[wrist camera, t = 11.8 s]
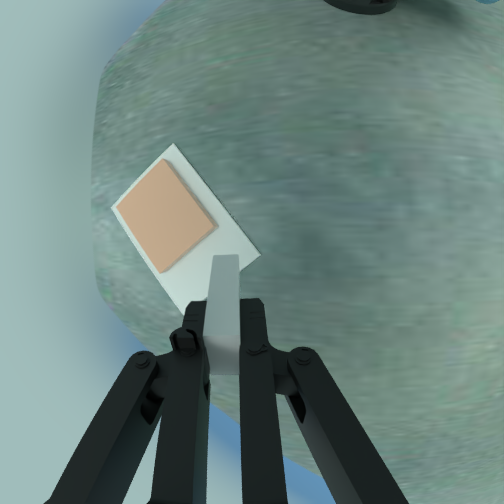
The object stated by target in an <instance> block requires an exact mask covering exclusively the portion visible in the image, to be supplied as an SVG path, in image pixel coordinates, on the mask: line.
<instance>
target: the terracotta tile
mask: <svg viewBox="0 0 504 504" xmlns="http://www.w3.org/2000/svg"><path fill="white" fill-rule="evenodd" d="M116 208H117V209H118V211H119V213H120V214H121V216H122V218H123V219H124V221H125V222H126V224H127V225H128V227H129V229H130V230H131V232H132V233H133V235H134V236H135V238H136V239H137V241H138V242H139V244H140V246H141V247H142V249H143V250H144V252H145V253H146V254H147V256H148V257H149V259H150V260H151V262H152V263H153V265H154V266H155V268H156V269H157V271H158V272H159V273H160V274H161V273H164V272H167V271H168V270H169V269H170V268H171V267H172V266H173V265H174V264H176V263H177V262H178V261H179V260H180V259H181V258H182V257H184V256H185V255H186V254H187V253H188V252H189V251H190V250H192V249H193V248H194V247H195V246H196V245H197V244H198V243H200V242H201V241H202V240H203V239H204V238H205V237H207V236H208V235H209V234H210V233H211V232H212V231H214V230H215V229H216V228H217V227H218V225H217V224H216V223H215V222H214V220H213V219H212V218H211V216H210V215H209V214H208V212H207V211H206V210H205V208H204V207H203V206H202V204H201V203H200V202H199V200H198V199H197V198H196V197H195V195H194V194H193V193H192V191H191V190H190V189H189V187H188V186H187V185H186V183H185V182H184V181H183V179H182V178H181V177H180V175H179V174H178V173H177V171H176V170H175V169H174V167H173V166H172V165H171V163H170V162H169V161H168V160H166V159H163V158H162V159H161V160H160V161H159V162H158V163H157V164H156V165H155V166H154V167H153V168H152V169H151V170H150V171H149V172H148V173H147V174H146V175H145V176H144V177H143V178H142V179H141V180H140V181H139V182H138V183H137V184H136V186H135V187H134V188H133V189H132V190H131V191H130V192H129V193H128V194H127V195H126V196H125V197H124V198H123V200H122V201H121V202H120V203H119V204H118V205H117V206H116Z"/></svg>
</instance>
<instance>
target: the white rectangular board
mask: <svg viewBox="0 0 504 504" xmlns="http://www.w3.org/2000/svg"><path fill="white" fill-rule="evenodd" d="M162 158H163V159H166V160H168V161H169V162H170V163H171V165H172V166H173V167H174V169H175V170H176V171H177V173H178V174H179V175H180V177H181V178H182V179H183V181H184V182H185V183H186V185H187V186H188V187H189V189H190V190H191V191H192V193H193V194H194V195H195V197H196V198H197V199H198V200H199V202H200V203H201V204H202V206H203V207H204V208H205V210H206V211H207V212H208V214H209V215H210V216H211V218H212V219H213V220H214V222H215V223H216V224H217V225H218V227H217V228H216V229H215V230H214V231H212V232H211V233H210V234H209V235H208V236H207V237H205V238H204V239H203V240H202V241H201V242H200V243H198V244H197V245H196V246H195V247H194V248H193V249H192V250H190V251H189V252H188V253H187V254H186V255H185V256H184V257H182V258H181V259H180V260H179V261H178V262H177V263H176V264H174V265H173V266H172V267H171V268H170V269H169V270H168V271H167V272H164V273H161V274H160V273H159V272H158V271H157V269H156V268H155V266H154V265H153V263H152V262H151V260H150V259H149V257H148V256H147V254H146V253H145V252H144V250H143V249H142V247H141V246H140V244H139V242H138V241H137V239H136V238H135V236H134V235H133V233H132V232H131V230H130V229H129V227H128V225H127V224H126V222H125V221H124V219H123V218H122V216H121V214H120V213H119V211H118V209H117V208H116V206H117V205H118V204H119V203H120V202H121V201H122V200H123V198H124V197H125V196H126V195H127V194H128V193H129V192H130V191H131V190H132V189H133V188H134V187H135V186H136V184H137V183H138V182H139V181H140V180H141V179H142V178H143V177H144V176H145V175H146V174H147V173H148V172H149V171H150V170H151V169H152V168H153V167H154V166H155V165H156V164H157V163H158V162H159V161H160V160H161V159H162ZM111 209H112V210H113V212H114V213H115V215H116V217H117V218H118V220H119V222H120V223H121V225H122V226H123V228H124V230H125V231H126V233H127V234H128V236H129V238H130V239H131V241H132V242H133V244H134V245H135V247H136V248H137V250H138V251H139V253H140V254H141V256H142V257H143V259H144V260H145V262H146V263H147V265H148V266H149V268H150V269H151V271H152V272H153V274H154V275H155V276H156V278H157V279H158V281H159V282H160V284H161V285H162V286H163V288H164V289H165V291H166V292H167V293H168V295H169V296H170V298H171V299H172V300H173V302H174V303H175V304H176V306H177V307H178V308H179V310H180V311H181V312H182V314H183V315H184V314H185V309H186V307H187V305H188V304H189V303H190V302H191V301H203V300H204V299H205V298H207V297H208V289H209V282H210V274H211V267H212V260H213V255H230V254H239V271H241V270H243V269H244V268H245V267H246V266H248V265H249V264H250V263H251V262H253V261H254V260H255V259H257V258H258V257H259V256H260V255H261V254H260V252H259V251H258V250H257V249H256V247H255V246H254V245H253V243H252V242H251V241H250V240H249V238H248V237H247V236H246V234H245V233H244V232H243V231H242V229H241V228H240V227H239V225H238V224H237V223H236V222H235V220H234V219H233V218H232V216H231V215H230V214H229V213H228V211H227V210H226V209H225V207H224V206H223V205H222V204H221V202H220V201H219V200H218V198H217V197H216V196H215V195H214V193H213V192H212V191H211V190H210V188H209V187H208V186H207V184H206V183H205V182H204V181H203V179H202V178H201V177H200V175H199V174H198V173H197V172H196V170H195V169H194V168H193V167H192V165H191V164H190V163H189V161H188V160H187V159H186V158H185V156H184V155H183V154H182V153H181V151H180V150H179V149H178V147H177V146H176V145H175V144H174V143H173V144H172V145H171V146H170V147H169V148H168V149H167V150H166V151H165V152H164V153H163V154H162V155H161V156H160V157H159V158H158V159H156V160H155V161H154V162H153V163H152V164H151V165H150V166H149V167H148V168H147V170H146V171H145V172H144V173H143V174H142V175H141V176H140V177H139V178H138V179H137V180H136V181H135V182H134V183H133V184H132V185H131V186H130V187H129V188H128V189H127V191H126V192H125V193H124V194H123V195H122V196H121V197H120V198H119V199H118V200H117V202H116V203H115V204H114V205H113V206H112V207H111Z"/></svg>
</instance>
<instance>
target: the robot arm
mask: <svg viewBox="0 0 504 504" xmlns="http://www.w3.org/2000/svg"><path fill="white" fill-rule="evenodd" d="M324 1H326V2H327V3H329V4H331V5H333V6H335V7H338V8H340V9H343V10H346V11H350V12H355V13H360V14H380V13H385V12H387V11H390V10H391V9H393V8H394V7H395V5H396V3H397V0H324ZM476 1H478V2H480V3H484V4H491V3H495V2H497V1H499V0H476ZM169 338H170V341H171V345H172V348H173V351H171V352H169V353H167V354H163V355H159V356H155V355H154V354H153V353H151V352H149V351H139V352H137V353H135V354H133V355H132V356H131V357H130V358H129V360H128V361H127V363H126V365H125V366H124V368H123V369H122V371H121V373H120V374H119V376H118V378H117V379H116V381H115V382H114V384H113V386H112V388H111V389H110V391H109V392H108V394H107V396H106V397H105V399H104V401H103V402H102V404H101V406H100V408H99V409H98V411H97V413H96V414H95V416H94V418H93V420H92V421H91V423H90V425H89V427H88V428H87V430H86V432H85V434H84V436H83V437H82V439H81V441H80V442H79V444H78V446H77V448H76V450H75V452H74V454H73V455H72V457H71V459H70V461H69V463H68V464H67V467H66V468H65V470H64V472H63V474H62V476H61V478H60V480H59V482H58V484H57V485H56V487H55V490H54V491H53V493H52V495H51V497H50V499H49V500H47V501H46V502H45V503H44V504H122V503H123V500H124V498H125V496H126V493H127V491H128V489H129V487H130V484H131V482H132V480H133V478H134V475H135V473H136V471H137V468H138V466H139V464H140V462H141V459H142V457H143V455H144V453H145V451H146V448H147V446H148V444H149V442H150V440H151V437H152V435H153V433H154V431H155V428H156V426H157V424H158V422H159V419H160V417H161V423H160V430H159V436H158V443H157V451H156V458H155V467H154V474H153V483H152V492H151V498H150V501H149V502H148V503H147V504H206V487H207V451H208V450H207V449H208V424H209V405H210V386H211V384H210V380H209V374H211V375H239V384H240V429H241V430H240V433H241V470H242V498H243V499H242V500H243V504H288V501H287V492H286V483H285V474H284V464H283V455H282V446H281V437H280V429H279V420H278V411H277V402H276V394H275V393H277V394H282V395H285V398H286V400H287V402H288V404H289V407H290V409H291V411H292V413H293V415H294V417H295V420H296V422H297V424H298V426H299V428H300V430H301V432H302V434H303V437H304V439H305V441H306V443H307V445H308V447H309V449H310V451H311V453H312V455H313V458H314V460H315V462H316V464H317V466H318V468H319V470H320V472H321V474H322V476H323V478H324V480H325V482H326V484H327V486H328V488H329V490H330V492H331V494H332V496H333V498H334V500H335V502H336V504H409V503H408V501H407V500H406V498H405V496H404V495H403V493H402V491H401V490H400V488H399V486H398V485H397V483H396V481H395V480H394V478H393V477H392V475H391V473H390V472H389V470H388V468H387V467H386V465H385V463H384V462H383V460H382V458H381V457H380V455H379V453H378V452H377V450H376V449H375V447H374V445H373V444H372V442H371V440H370V439H369V437H368V435H367V434H366V432H365V430H364V429H363V427H362V426H361V424H360V422H359V421H358V419H357V417H356V416H355V414H354V412H353V411H352V409H351V408H350V406H349V404H348V403H347V401H346V399H345V398H344V396H343V394H342V393H341V391H340V389H339V388H338V386H337V385H336V383H335V381H334V380H333V378H332V376H331V375H330V373H329V371H328V370H327V368H326V367H325V365H324V363H323V362H322V360H321V358H320V357H319V355H318V354H317V353H316V352H315V350H313V349H311V348H308V347H297V348H295V349H293V350H291V352H284V351H280V350H277V349H275V348H274V347H273V346H271V345H270V343H269V341H268V335H267V327H266V319H265V310H264V304H263V303H262V301H261V300H260V299H259V298H252V299H241V289H240V271H239V254H230V255H213V260H212V267H211V274H210V282H209V289H208V297H207V301H191V302H190V303H189V304H188V305H187V307H186V309H185V314H184V319H183V324H182V327H181V328H178V329H176V330H174V331H173V332H172V333H171V335H170V337H169ZM161 415H162V416H161Z"/></svg>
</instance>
